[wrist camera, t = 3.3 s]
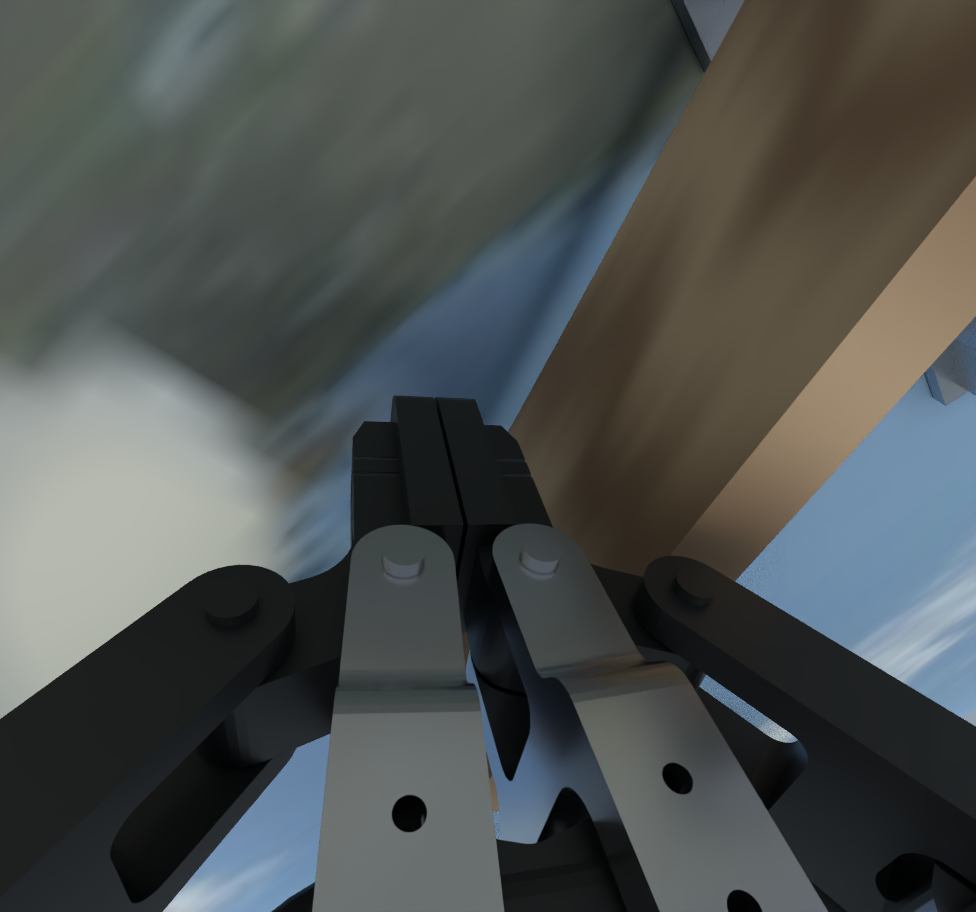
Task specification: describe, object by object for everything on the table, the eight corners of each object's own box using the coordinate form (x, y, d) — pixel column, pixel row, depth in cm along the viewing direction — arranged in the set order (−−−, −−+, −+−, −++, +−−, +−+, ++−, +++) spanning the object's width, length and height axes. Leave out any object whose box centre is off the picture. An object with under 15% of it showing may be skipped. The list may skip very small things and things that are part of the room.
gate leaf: (660, -6, 13) (1121, -54, 5) (735, 48, 14) (1225, 75, 6) (409, 510, 21) (447, 810, 13) (470, 523, 22) (540, 811, 14)
